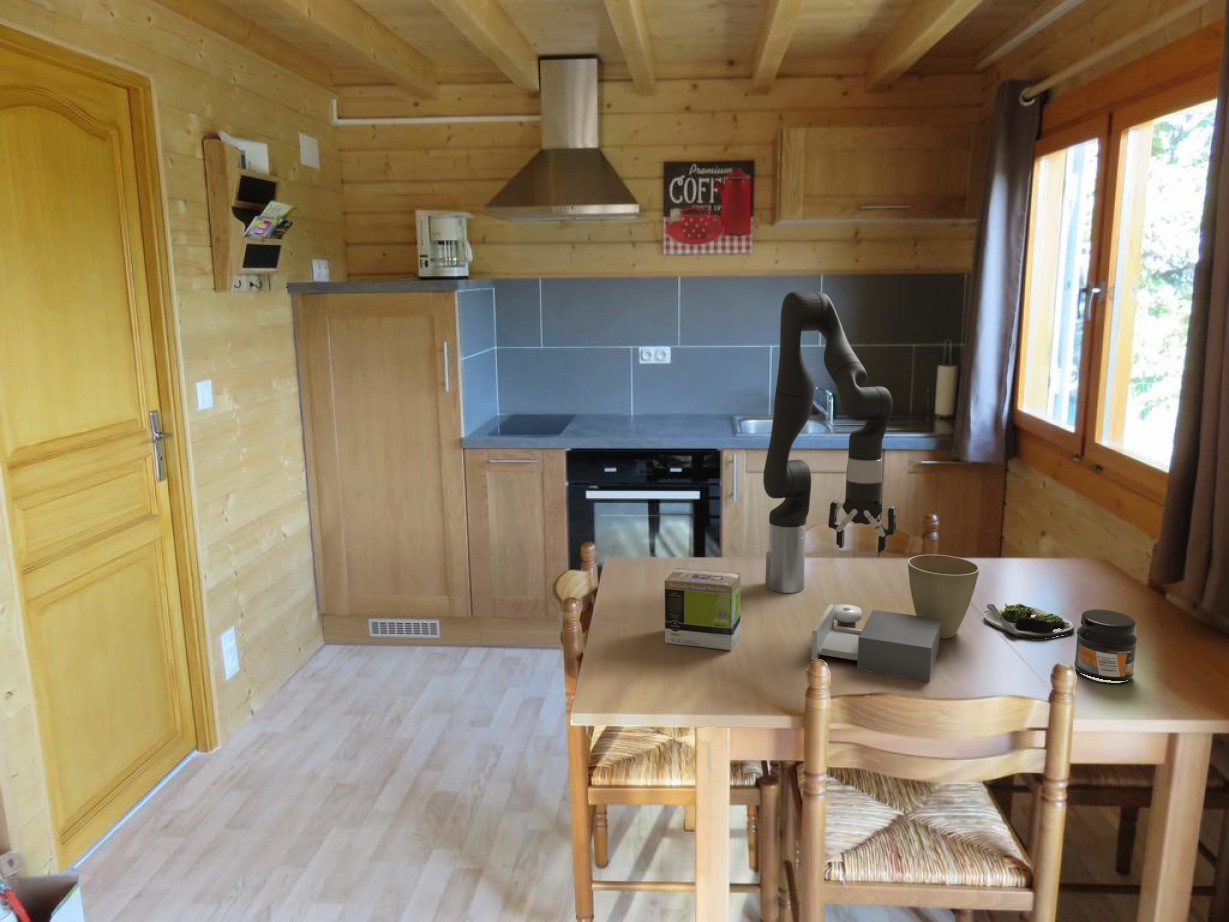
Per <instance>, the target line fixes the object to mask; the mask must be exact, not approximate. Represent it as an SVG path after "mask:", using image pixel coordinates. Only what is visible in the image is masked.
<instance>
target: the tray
mask: <svg viewBox="0 0 1229 922" xmlns="http://www.w3.org/2000/svg"><path fill="white" fill-rule="evenodd" d="M834 606H836V604H832V603H831V604H829V605H828V606H827V608H826V610H825V611H824V613H823V614H822V616H821V617H820V618H819V620H818V622H817V623H816V624H815V626H814V627H813V629H812V632H811V633H812V635H811V640H812V641H811V661H814V660H813V659H816V658H818V659H819V657H820V656H821V655H822V656H829V657H833V658H834V657H835V658H841V659H847V660H851V661H853V660H854V661H857V660H858V638H859V635H860V633H861V631H862V630H863V628H861V629H860V628H856V627H855V628H848V627H841V626H837V625H835V619H834Z"/></svg>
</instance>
